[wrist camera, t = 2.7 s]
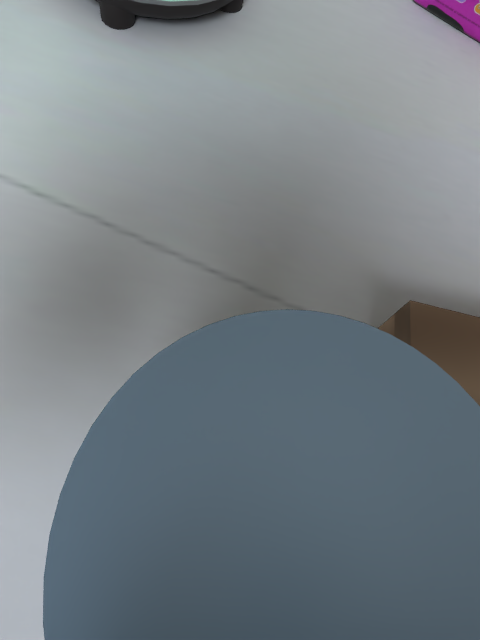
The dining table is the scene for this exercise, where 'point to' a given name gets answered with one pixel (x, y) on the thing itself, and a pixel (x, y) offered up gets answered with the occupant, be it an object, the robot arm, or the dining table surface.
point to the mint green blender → (160, 9)
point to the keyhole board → (442, 340)
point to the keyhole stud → (273, 493)
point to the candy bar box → (457, 14)
